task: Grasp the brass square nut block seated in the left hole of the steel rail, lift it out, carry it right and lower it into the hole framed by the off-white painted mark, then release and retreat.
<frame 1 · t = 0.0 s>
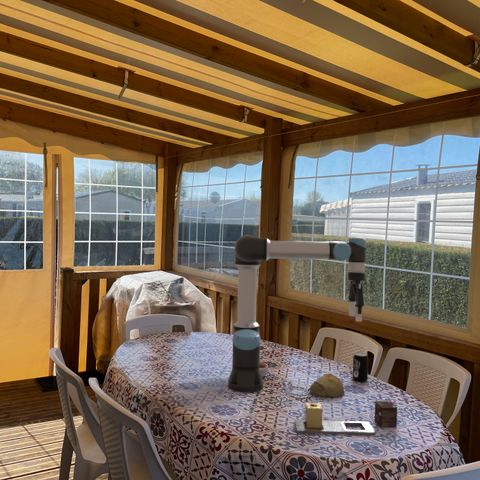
hand: (355, 318, 227), 28 cm above the table, fingers open, 13 cm apart
pastry: (327, 394, 208), on the table
rail: (333, 429, 171), on the table
beverage can: (360, 380, 227), on the table
nut: (313, 428, 171), resting in rail
box: (385, 425, 176), on the table
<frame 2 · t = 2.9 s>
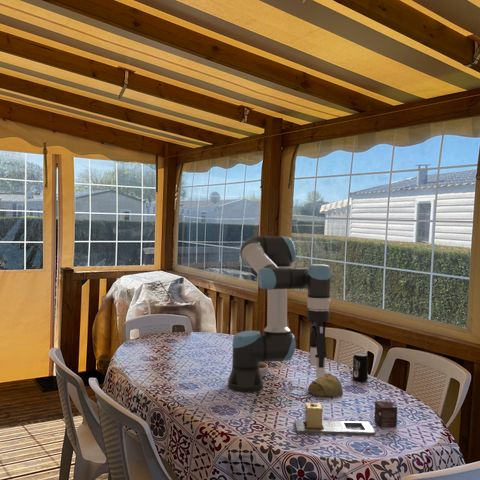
hand: (317, 371, 172), 19 cm above the table, fingers open, 13 cm apart
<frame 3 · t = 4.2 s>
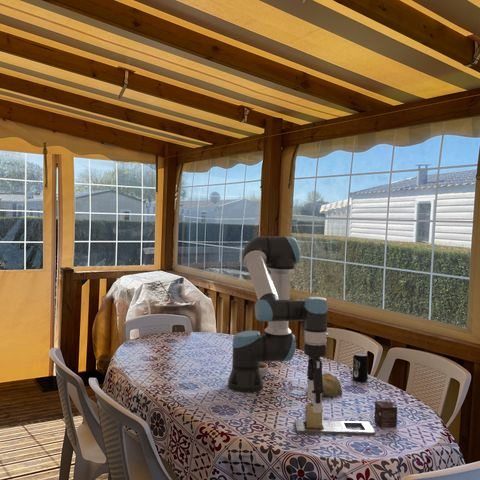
hand: (314, 405, 171), 8 cm above the table, fingers open, 13 cm apart
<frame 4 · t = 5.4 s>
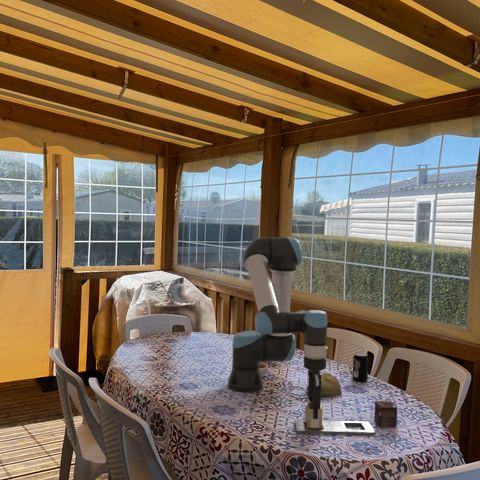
hand: (313, 423, 171), 2 cm above the table, fingers closed on nut, 5 cm apart
nut: (313, 428, 171), resting in rail, touching gripper
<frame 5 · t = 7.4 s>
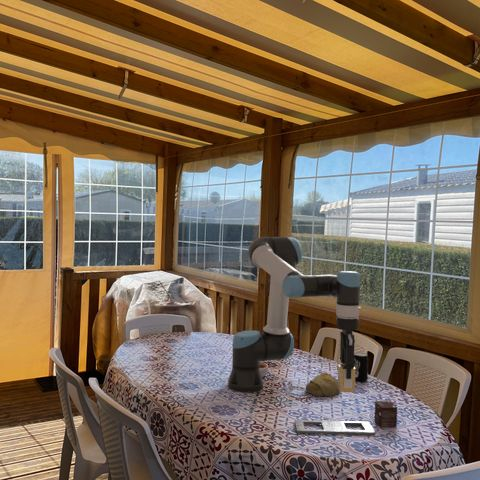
hand: (346, 385, 170), 15 cm above the table, fingers closed on nut, 5 cm apart
nut: (346, 389, 170), point 14 cm above the table, touching gripper
when the fingers open (2 cm above the table, at t = 9.5 s): nut stays where it is, resting in rail.
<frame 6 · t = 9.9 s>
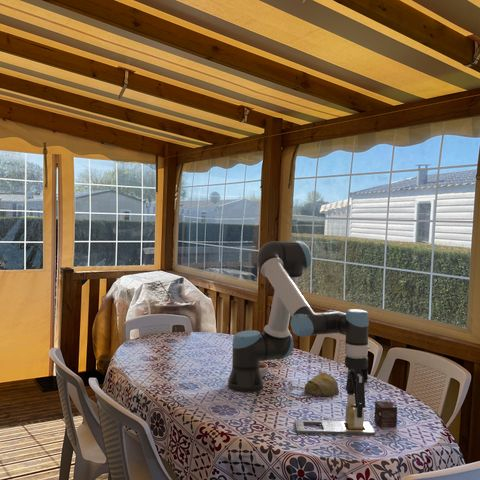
hand: (354, 419, 171), 3 cm above the table, fingers open, 11 cm apart
nut: (354, 429, 171), resting in rail
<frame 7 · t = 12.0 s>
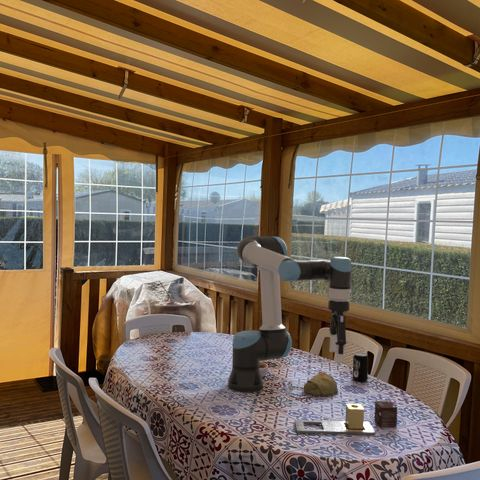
hand: (336, 357, 184), 21 cm above the table, fingers open, 13 cm apart
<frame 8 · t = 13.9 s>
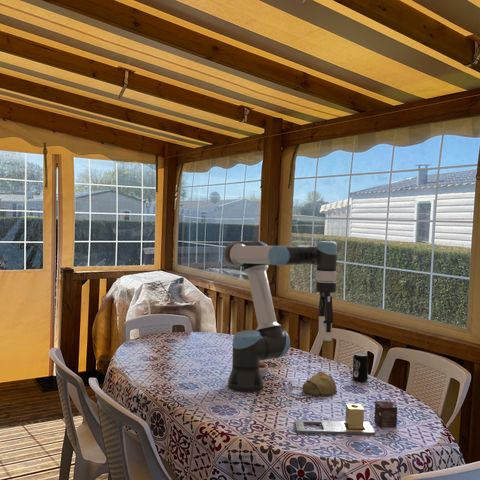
hand: (324, 336, 194), 27 cm above the table, fingers open, 13 cm apart
at the end: nut 0.1 cm from the target spot on the rail, point 0.0 cm above the rail's base; nut tilted 0°; the gripper is holding nothing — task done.
